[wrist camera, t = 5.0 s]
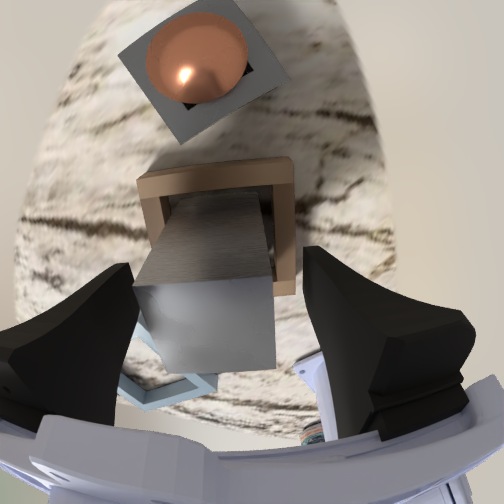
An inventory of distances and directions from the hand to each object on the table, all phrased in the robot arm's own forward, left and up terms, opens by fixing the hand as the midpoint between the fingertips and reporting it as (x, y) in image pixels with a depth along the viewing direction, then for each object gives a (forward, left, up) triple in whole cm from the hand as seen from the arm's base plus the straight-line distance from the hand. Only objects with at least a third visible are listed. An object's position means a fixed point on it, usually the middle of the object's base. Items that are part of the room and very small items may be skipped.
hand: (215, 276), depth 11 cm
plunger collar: (+7, -4, -5) cm, 10 cm away
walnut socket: (0, 0, -5) cm, 5 cm away
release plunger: (+7, -4, -4) cm, 9 cm away
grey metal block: (0, 0, -5) cm, 5 cm away
